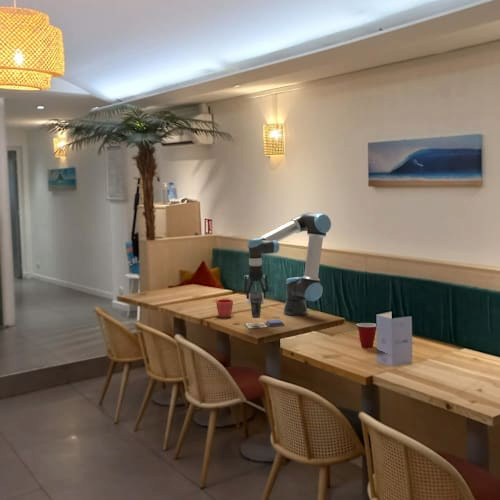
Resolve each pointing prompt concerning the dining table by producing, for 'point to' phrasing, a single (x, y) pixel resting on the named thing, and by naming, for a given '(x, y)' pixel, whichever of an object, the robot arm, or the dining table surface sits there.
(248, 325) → the marked board
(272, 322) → the ink pad
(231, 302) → the flower pot
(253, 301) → the beverage cup
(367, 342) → the plastic cup
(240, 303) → the dining table surface
